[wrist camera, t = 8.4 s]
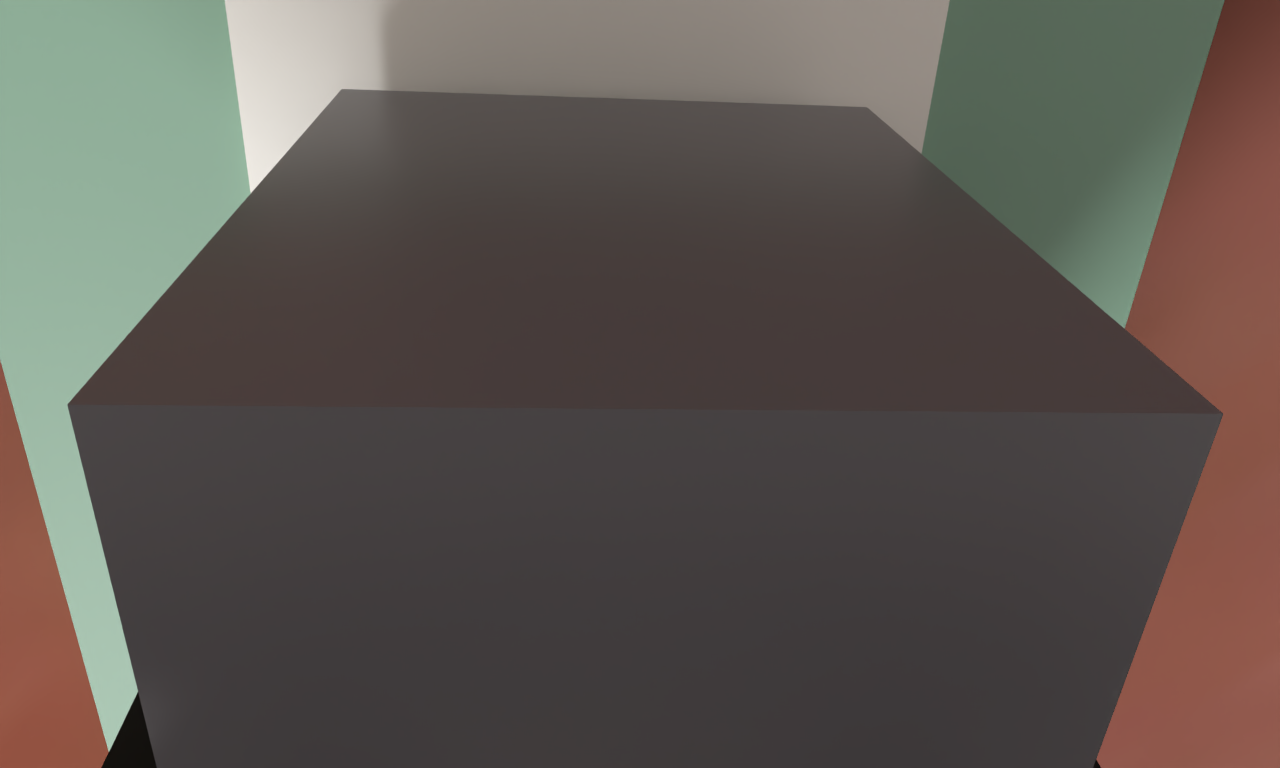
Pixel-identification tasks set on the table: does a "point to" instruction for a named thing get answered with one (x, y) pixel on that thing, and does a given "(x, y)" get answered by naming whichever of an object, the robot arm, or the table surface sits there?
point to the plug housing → (629, 455)
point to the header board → (519, 65)
